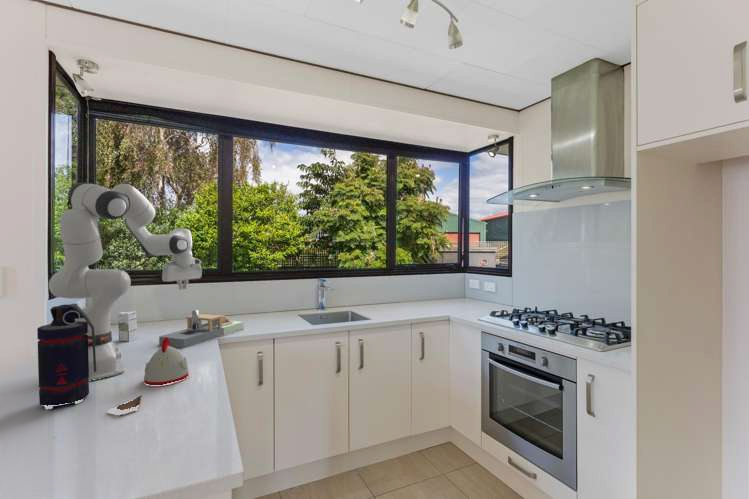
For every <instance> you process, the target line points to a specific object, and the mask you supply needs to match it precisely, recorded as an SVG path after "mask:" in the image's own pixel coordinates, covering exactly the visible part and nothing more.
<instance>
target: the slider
mask: <svg viewBox="0 0 749 499" xmlns="http://www.w3.org/2000/svg"><path fill="white" fill-rule="evenodd" d="M198 314H199V309H195V310H194V309H193V310H191V316H192V327H189V328H186V329H187V330H192V331H201V332H202V331H206V330H208V328H204V329H199V327H202V326H206V325H208V322H205V323H202V324H201V325H199V316H198ZM233 321H234V320H231V318H226V323H222V326H223V325H227V324H230V323H233ZM212 325H215V326H212V329H213V328H216V327H218V321H212Z"/></svg>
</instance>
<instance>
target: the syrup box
mask: <svg viewBox="0 0 749 499" xmlns="http://www.w3.org/2000/svg"><path fill="white" fill-rule="evenodd" d="M117 315H118V316H117V320H118V322H117V323H118V342H133V341H134V340H135V341H136V340H137V339H138V329H137V323H138V321H137V311H136V310H126V311H125V310H124V311H121V312H118V314H117Z"/></svg>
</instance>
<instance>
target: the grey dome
mask: <svg viewBox="0 0 749 499" xmlns="http://www.w3.org/2000/svg"><path fill="white" fill-rule="evenodd" d="M170 343H171V341H169V339H168V337H166V338H165V339H164V340H163V345H160V346H161V347H160V348H158V350H157V351H156V352H155V353H154V354H152V356H151V358H150V359H149V361H148V362H146V363H145V368H144V376H143V383H144V382H145V383H146V384H149V385H163V384H167V383H171V382H175V381H179V380H182V379H184V378H186V377H187V376H188V377H189V368H188V361H187V357H185V356H183V354H182V353H181V352H180V351H179V350H178V349H177V348H176V347H173V346H170Z"/></svg>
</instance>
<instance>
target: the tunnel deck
mask: <svg viewBox="0 0 749 499" xmlns="http://www.w3.org/2000/svg"><path fill="white" fill-rule="evenodd" d="M198 316H199V325H201V324H203V321H207V323H208V325H206V326H202V327H199V329H204V328H208V330H206V331H202V332H201V331H192V330H187V328H189V327H192V315H188V316H186V319H187V323H186V324H187V326H186V327H187V328H186V329H182V330H179V331H174V332H171V333H166V334H163V335H160V336H159V338H158V339H159V340H158V341H159V344H158V345H159V346H161V345H163V340H164V339H165V338H166V337H168V339H169V341H171V343H170V347H173V348H181V349H184V348H188V347H191V346H193V345H194V346H195V345H197V344H201V343H204V342H206V341H210V340H214V339H216V337H217V338H219V336H220V337H222V336H221V335H223V336H226V335H229V334H232V333H234V331H235V332H238V331H237V330H239V331H241V329H242V330H244V328H245V327H244V326H245V325H244V321H239V320H238V321H236V320H232V321H233V323H230V324H227V325H223V326H222V316H223V315H221V316H218V315H217V314H215V315H214V314H208V313H207V314H206V313H205V314H204V313H203V314H202V313H198ZM215 319H217V320H218V327H216V328H213V329H212V326H214V325H212V320H215ZM231 332H232V333H231ZM228 333H229V334H228ZM225 334H226V335H225Z"/></svg>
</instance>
